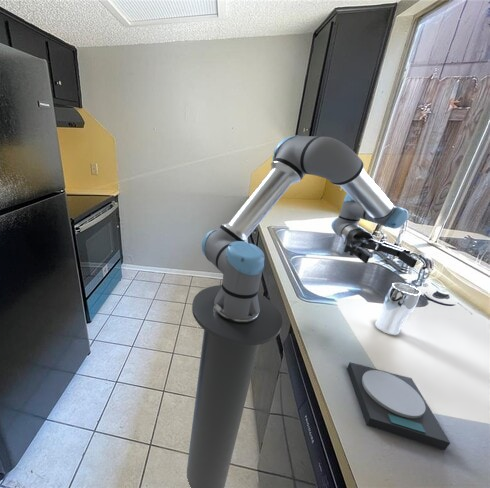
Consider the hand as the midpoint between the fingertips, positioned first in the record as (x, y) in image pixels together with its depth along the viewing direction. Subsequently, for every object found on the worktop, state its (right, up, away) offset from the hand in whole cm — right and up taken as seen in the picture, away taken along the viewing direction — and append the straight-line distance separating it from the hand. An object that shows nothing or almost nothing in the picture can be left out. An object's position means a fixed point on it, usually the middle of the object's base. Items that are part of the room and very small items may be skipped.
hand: (390, 261), depth 82 cm
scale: (-22, -31, -24) cm, 45 cm away
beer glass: (-2, -21, -1) cm, 21 cm away
